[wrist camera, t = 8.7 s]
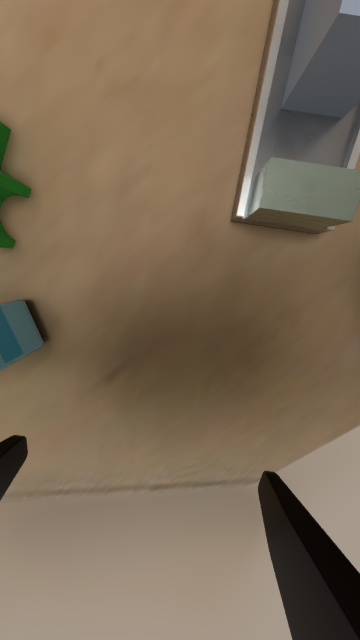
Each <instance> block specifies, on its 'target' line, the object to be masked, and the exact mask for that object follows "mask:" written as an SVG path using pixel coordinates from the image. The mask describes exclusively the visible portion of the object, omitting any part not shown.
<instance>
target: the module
mask: <svg viewBox="0 0 360 640" xmlns="http://www.w3.org/2000/svg"><path fill="white" fill-rule="evenodd" d="M359 102H360V0H306V1H305V5H304V10H303V14H302V19H301V23H300V27H299V32H298V36H297V41H296V45H295V49H294V54H293V58H292V63H291V67H290V71H289V76H288V80H287V85H286V89H285V93H284V98H283V102H282V107H281V109H286V110H293V111H299V112H306V113H313V114H319V115H326V116H333V117H339V118H343V117H344V116H345V115H346V114H348V113H349V112H350V111H351V110H352V109H353V108H354V107H355V106H356V105H357V104H358V103H359Z"/></svg>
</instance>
